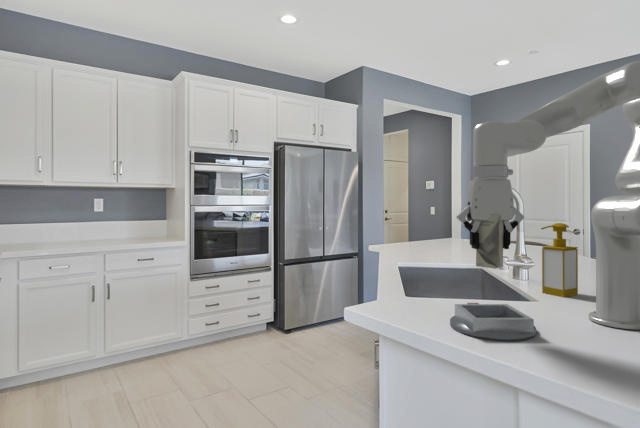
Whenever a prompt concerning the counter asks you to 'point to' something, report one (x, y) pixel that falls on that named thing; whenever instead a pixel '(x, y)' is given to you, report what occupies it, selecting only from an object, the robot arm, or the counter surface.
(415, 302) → the counter surface
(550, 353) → the counter surface
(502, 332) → the disc with square frame
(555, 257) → the soap bottle
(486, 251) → the box
